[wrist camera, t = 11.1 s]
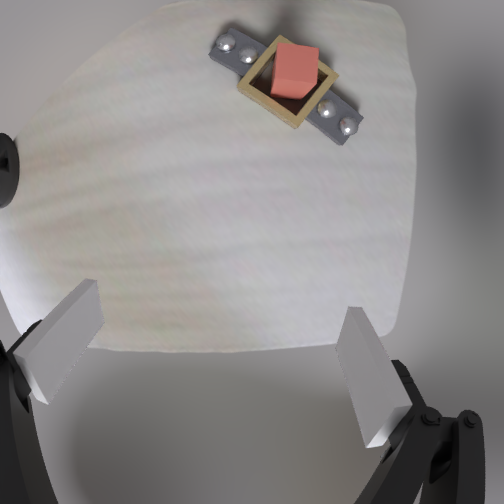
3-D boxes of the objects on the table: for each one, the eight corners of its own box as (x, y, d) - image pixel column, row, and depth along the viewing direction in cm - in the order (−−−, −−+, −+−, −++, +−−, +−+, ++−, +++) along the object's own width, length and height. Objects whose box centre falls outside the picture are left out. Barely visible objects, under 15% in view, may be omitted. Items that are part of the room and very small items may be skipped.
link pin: (270, 96, 33) (274, 78, 23) (272, 69, 32) (277, 42, 21) (300, 100, 33) (316, 83, 23) (302, 73, 32) (318, 48, 22)
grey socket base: (200, 69, 32) (195, 62, 28) (240, 22, 29) (238, 12, 26) (331, 157, 36) (338, 158, 33) (367, 109, 33) (377, 107, 30)
